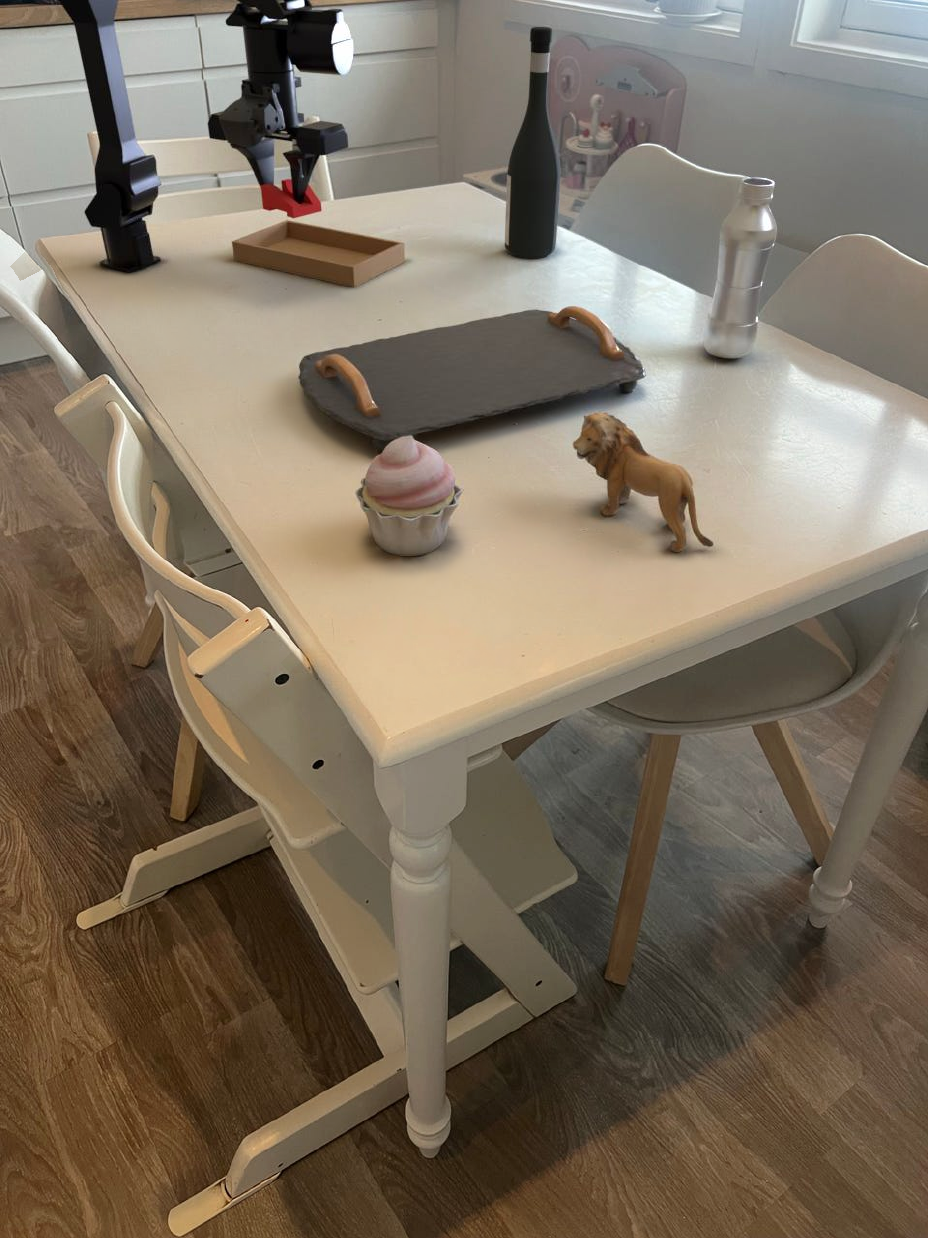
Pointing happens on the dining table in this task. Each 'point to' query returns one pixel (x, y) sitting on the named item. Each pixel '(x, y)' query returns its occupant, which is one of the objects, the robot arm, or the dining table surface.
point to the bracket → (289, 200)
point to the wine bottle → (534, 165)
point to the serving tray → (466, 372)
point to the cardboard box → (319, 252)
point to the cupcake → (409, 497)
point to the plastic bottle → (741, 271)
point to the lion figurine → (637, 473)
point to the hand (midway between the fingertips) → (283, 201)
